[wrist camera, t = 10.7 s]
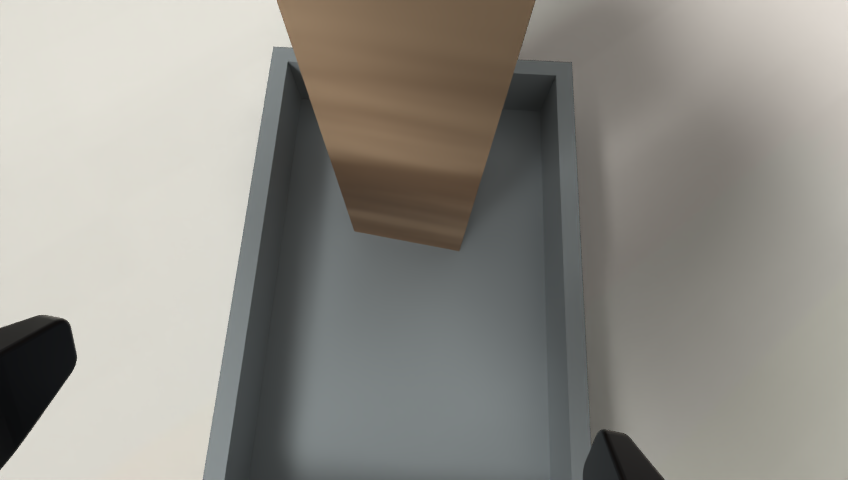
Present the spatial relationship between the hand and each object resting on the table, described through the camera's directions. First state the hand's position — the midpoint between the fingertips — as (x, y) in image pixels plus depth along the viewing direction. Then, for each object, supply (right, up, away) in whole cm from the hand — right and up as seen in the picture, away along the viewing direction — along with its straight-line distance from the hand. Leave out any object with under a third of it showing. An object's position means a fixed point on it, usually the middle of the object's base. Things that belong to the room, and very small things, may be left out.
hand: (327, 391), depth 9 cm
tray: (+1, 0, +11) cm, 11 cm away
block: (+1, +4, +11) cm, 12 cm away
